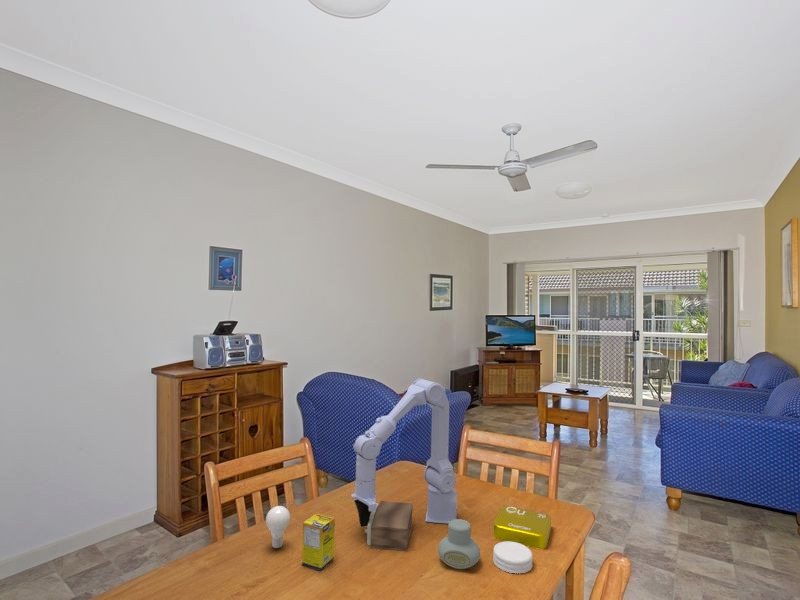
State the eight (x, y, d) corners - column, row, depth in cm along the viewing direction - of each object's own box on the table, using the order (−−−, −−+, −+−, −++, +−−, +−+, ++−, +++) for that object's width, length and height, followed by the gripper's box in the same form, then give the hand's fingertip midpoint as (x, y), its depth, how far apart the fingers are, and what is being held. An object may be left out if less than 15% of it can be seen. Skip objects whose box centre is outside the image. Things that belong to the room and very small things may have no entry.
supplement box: (334, 559, 116) (335, 517, 117) (321, 571, 111) (322, 527, 111) (315, 553, 119) (316, 512, 119) (301, 565, 113) (302, 522, 114)
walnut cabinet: (412, 523, 137) (412, 503, 137) (406, 551, 121) (407, 528, 121) (379, 520, 138) (380, 500, 138) (370, 547, 122) (371, 525, 123)
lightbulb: (293, 544, 123) (294, 504, 124) (280, 556, 117) (281, 514, 118) (274, 539, 125) (275, 500, 126) (260, 551, 119) (261, 509, 120)
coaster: (525, 580, 110) (526, 565, 110) (487, 566, 115) (487, 553, 115) (536, 561, 119) (537, 547, 119) (500, 549, 124) (500, 536, 124)
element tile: (491, 539, 129) (492, 523, 129) (502, 518, 143) (502, 502, 143) (545, 552, 123) (546, 535, 123) (551, 528, 137) (551, 512, 137)
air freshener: (435, 567, 114) (436, 528, 114) (440, 550, 122) (441, 513, 122) (478, 575, 111) (479, 534, 111) (481, 557, 119) (482, 519, 119)
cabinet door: (378, 520, 138) (378, 502, 138) (370, 545, 123) (371, 525, 123) (372, 519, 138) (372, 502, 138) (364, 545, 123) (364, 525, 124)
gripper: (345, 470, 134) (344, 516, 134) (359, 489, 121) (358, 540, 120) (368, 468, 137) (366, 513, 137) (384, 486, 123) (382, 536, 123)
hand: (364, 525), depth 129 cm, fingers closed, pressing on cabinet door
